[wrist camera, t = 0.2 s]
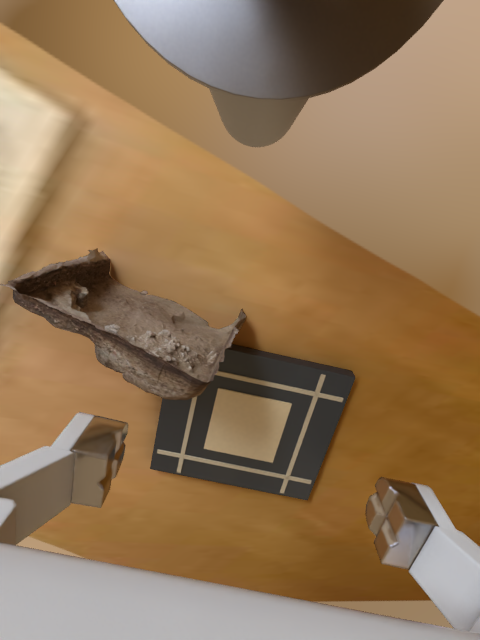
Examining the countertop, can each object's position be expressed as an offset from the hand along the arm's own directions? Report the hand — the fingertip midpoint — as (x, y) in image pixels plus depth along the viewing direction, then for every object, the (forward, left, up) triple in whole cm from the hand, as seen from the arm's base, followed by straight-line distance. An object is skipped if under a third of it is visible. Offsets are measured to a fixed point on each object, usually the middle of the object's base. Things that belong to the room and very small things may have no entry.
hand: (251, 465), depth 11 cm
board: (+17, +4, -27) cm, 32 cm away
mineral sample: (+4, -8, -27) cm, 28 cm away
